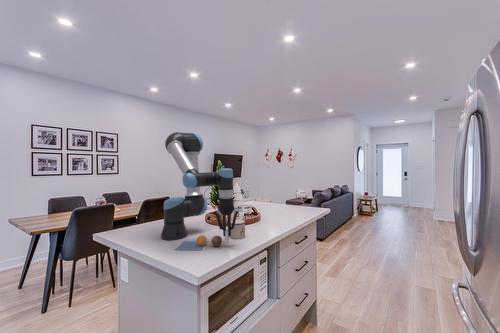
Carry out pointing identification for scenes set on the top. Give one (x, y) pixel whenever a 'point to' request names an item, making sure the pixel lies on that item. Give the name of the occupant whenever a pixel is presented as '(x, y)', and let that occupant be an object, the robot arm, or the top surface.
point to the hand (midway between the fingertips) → (227, 242)
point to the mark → (190, 246)
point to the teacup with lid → (238, 229)
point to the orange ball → (201, 240)
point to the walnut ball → (216, 240)
